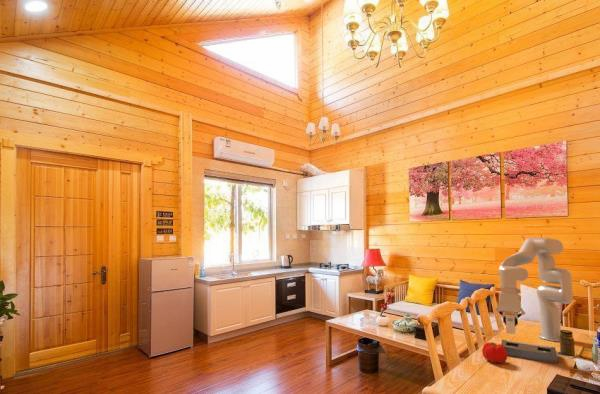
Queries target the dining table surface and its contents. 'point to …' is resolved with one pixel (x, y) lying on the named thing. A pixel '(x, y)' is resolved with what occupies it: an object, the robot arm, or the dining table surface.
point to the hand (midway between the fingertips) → (510, 324)
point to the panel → (530, 351)
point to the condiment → (566, 344)
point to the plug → (510, 324)
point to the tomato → (494, 352)
